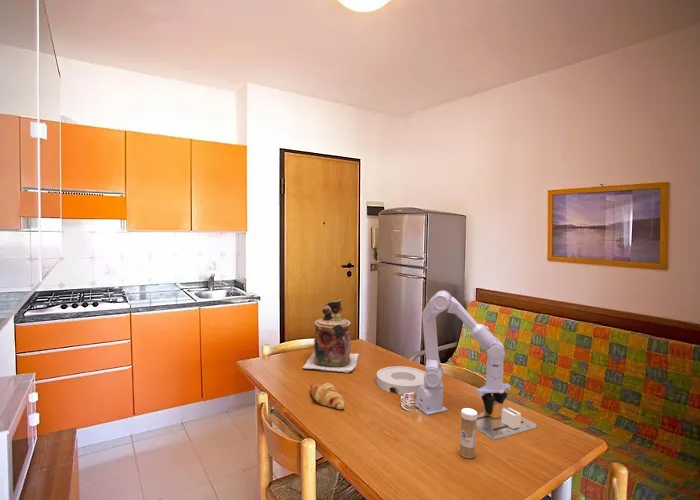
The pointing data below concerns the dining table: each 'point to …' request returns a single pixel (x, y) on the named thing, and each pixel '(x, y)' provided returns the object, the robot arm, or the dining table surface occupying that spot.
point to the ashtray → (400, 379)
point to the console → (499, 426)
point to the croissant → (327, 395)
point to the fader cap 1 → (495, 410)
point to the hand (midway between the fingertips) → (492, 412)
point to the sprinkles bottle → (468, 432)
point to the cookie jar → (332, 342)
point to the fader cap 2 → (511, 418)
